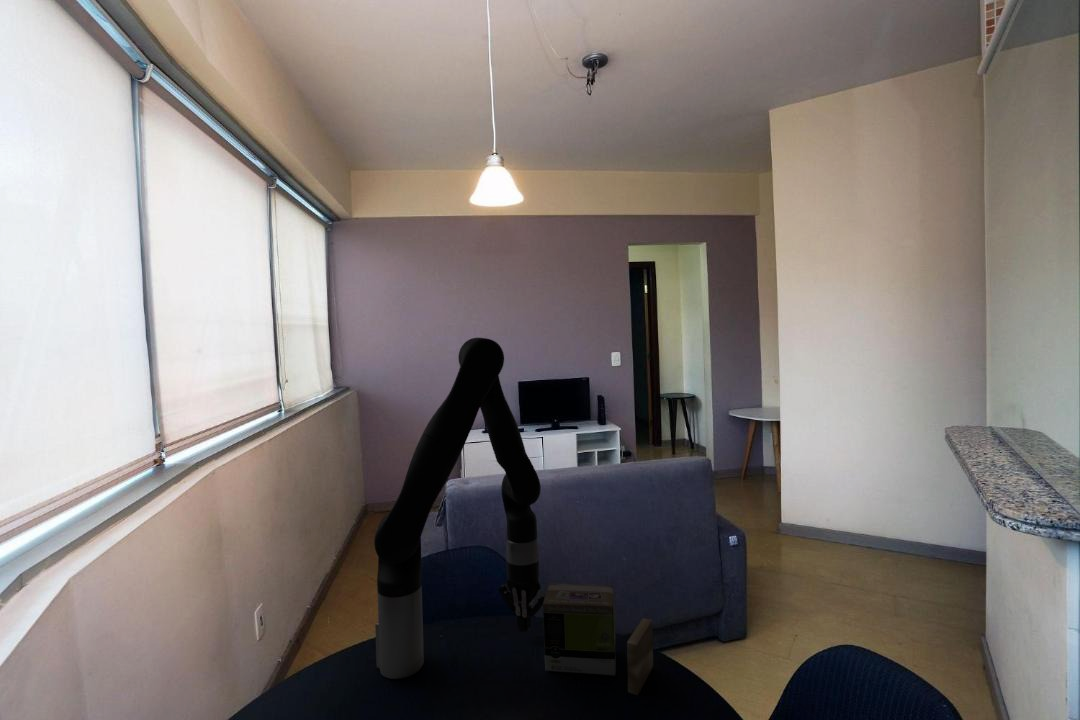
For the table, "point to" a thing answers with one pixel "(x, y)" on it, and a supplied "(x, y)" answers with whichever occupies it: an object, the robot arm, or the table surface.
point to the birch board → (639, 656)
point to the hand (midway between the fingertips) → (524, 630)
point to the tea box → (579, 629)
